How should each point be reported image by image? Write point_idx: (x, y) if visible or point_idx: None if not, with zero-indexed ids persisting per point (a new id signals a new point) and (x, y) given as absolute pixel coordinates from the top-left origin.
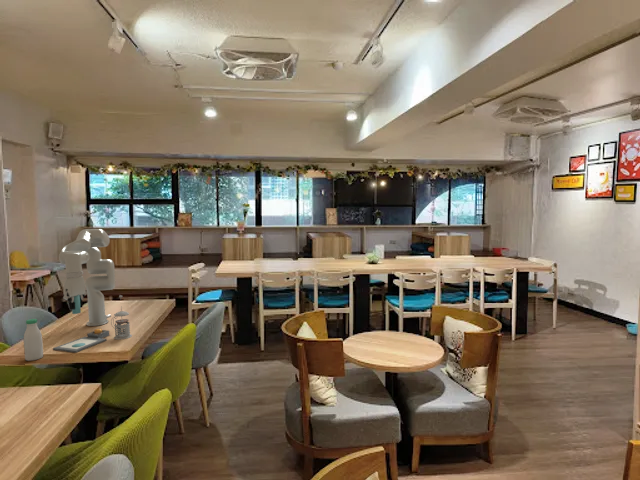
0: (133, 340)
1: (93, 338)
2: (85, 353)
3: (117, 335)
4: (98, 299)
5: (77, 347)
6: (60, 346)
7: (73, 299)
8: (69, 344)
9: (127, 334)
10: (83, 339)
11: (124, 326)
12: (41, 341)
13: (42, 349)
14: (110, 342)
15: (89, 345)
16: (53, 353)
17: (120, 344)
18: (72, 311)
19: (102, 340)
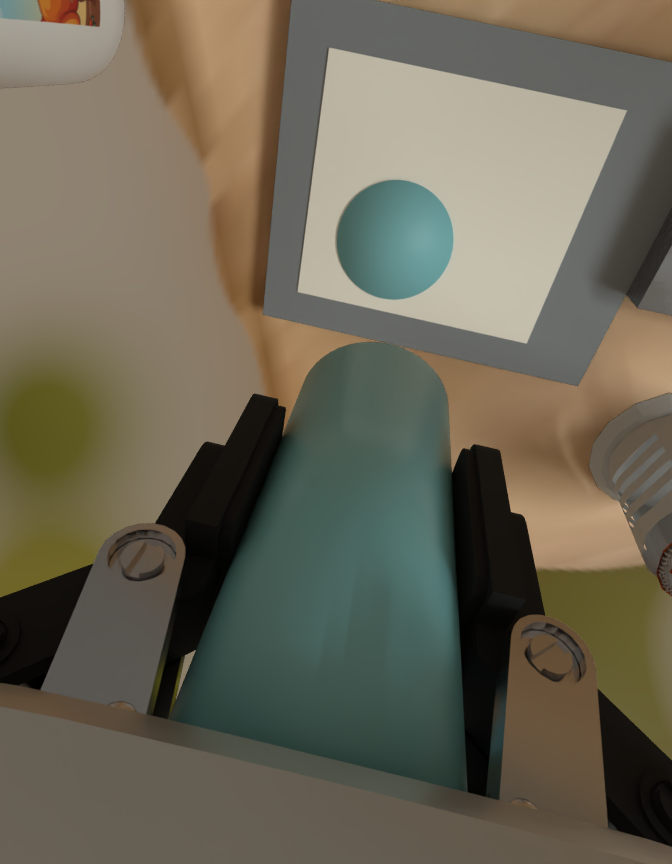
0: (548, 549)
1: (618, 252)
2: (267, 386)
3: (620, 459)
4: None
5: (334, 275)
6: (349, 44)
7: (158, 714)
8: (414, 114)
9: (642, 512)
10: (592, 158)
11: (649, 562)
12: None
13: (57, 77)
14: (517, 430)
15: (397, 343)
16: (209, 99)
17: None
18: (296, 401)
19: (533, 375)
